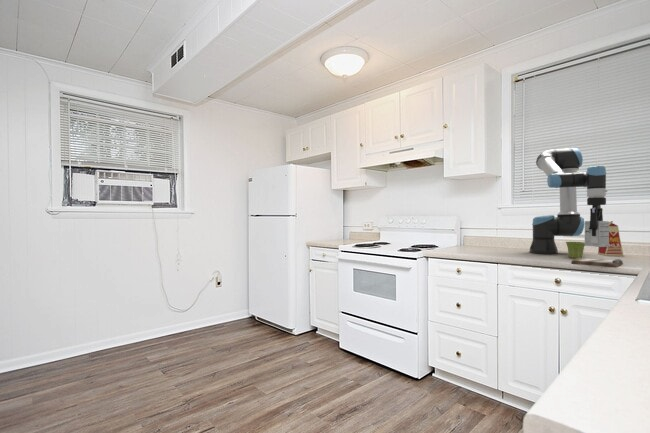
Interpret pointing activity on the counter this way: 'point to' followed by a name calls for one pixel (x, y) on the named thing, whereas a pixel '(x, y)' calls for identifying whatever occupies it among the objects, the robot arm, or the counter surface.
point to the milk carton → (612, 242)
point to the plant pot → (575, 249)
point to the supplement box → (602, 234)
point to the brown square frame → (597, 262)
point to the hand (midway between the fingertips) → (596, 242)
